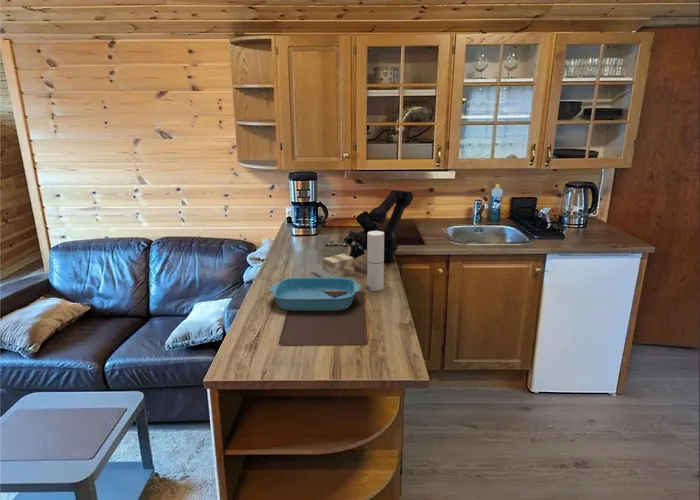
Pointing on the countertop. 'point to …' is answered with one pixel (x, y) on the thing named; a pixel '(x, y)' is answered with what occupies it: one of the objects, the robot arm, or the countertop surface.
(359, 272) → the walnut board
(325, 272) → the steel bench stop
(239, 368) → the countertop surface
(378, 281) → the cylindrical container
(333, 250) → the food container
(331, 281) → the casserole dish
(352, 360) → the countertop surface
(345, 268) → the maple block
